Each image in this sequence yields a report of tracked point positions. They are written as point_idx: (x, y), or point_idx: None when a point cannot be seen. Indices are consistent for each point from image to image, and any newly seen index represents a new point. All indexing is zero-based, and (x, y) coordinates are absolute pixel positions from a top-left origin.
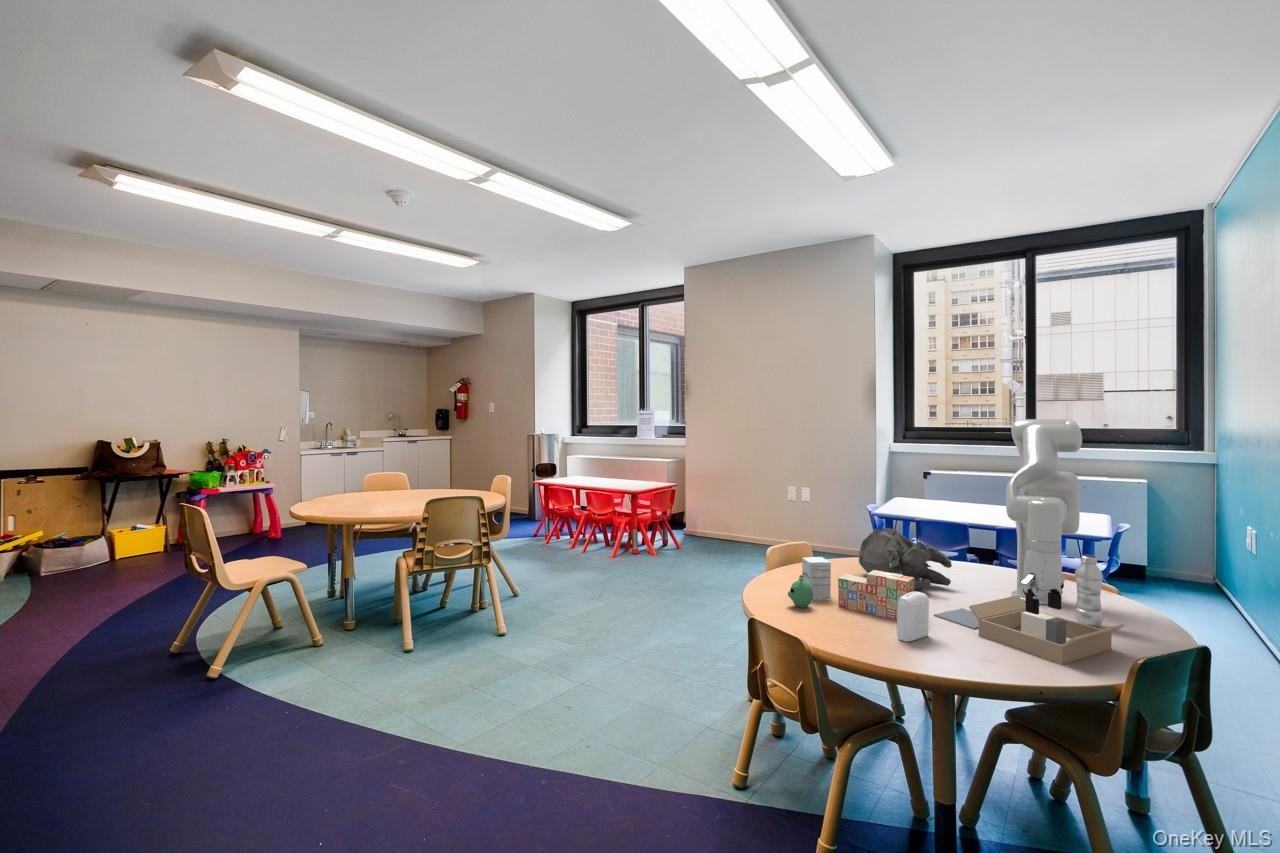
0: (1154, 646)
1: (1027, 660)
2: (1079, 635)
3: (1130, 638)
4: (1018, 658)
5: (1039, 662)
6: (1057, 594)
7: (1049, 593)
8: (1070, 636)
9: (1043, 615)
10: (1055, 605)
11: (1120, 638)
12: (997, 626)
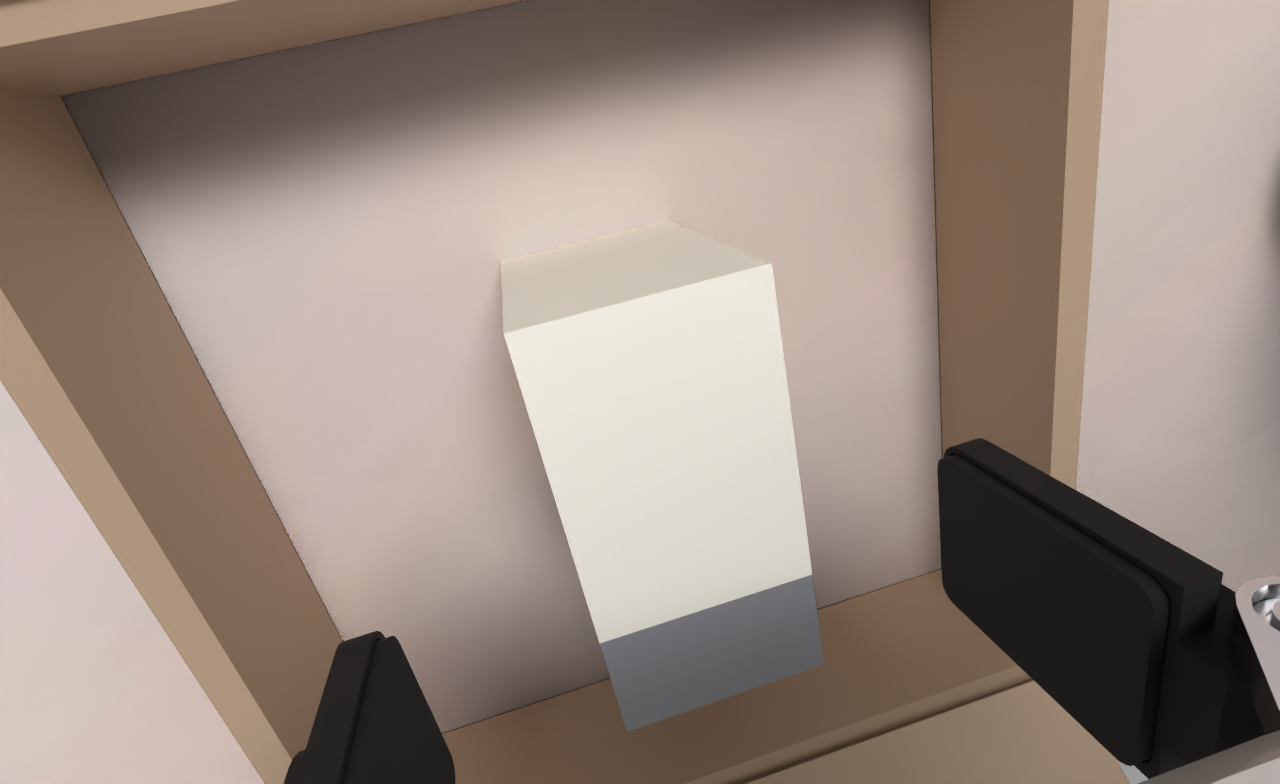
0: (1229, 563)
1: (150, 706)
2: (968, 429)
3: (1274, 434)
4: (90, 670)
5: (231, 738)
6: (1162, 746)
7: (1150, 615)
8: (947, 350)
9: (722, 499)
10: (972, 582)
11: (1225, 424)
12: (7, 365)
